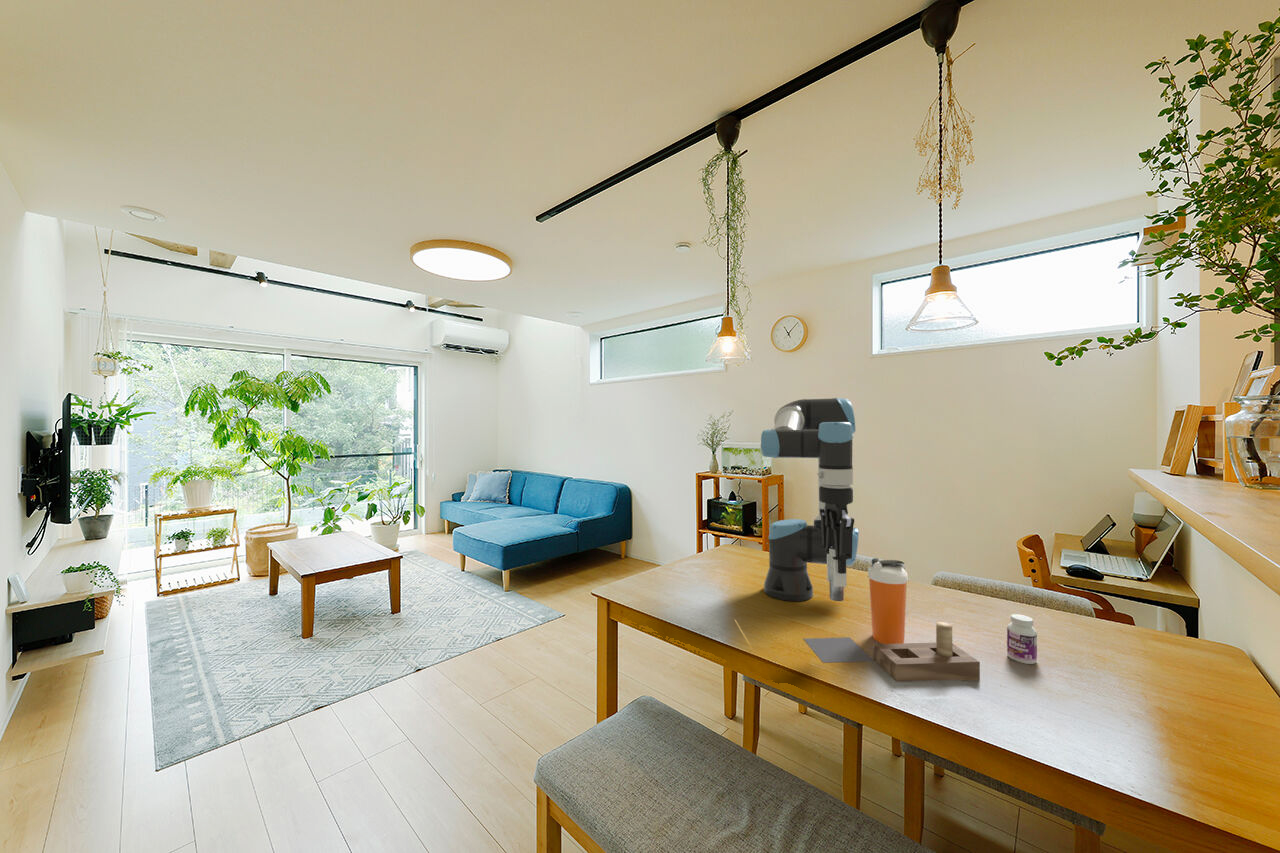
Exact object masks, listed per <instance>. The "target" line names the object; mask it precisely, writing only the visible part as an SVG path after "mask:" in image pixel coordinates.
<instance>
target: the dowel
mask: <svg viewBox="0 0 1280 853" xmlns="http://www.w3.org/2000/svg"><path fill="white" fill-rule="evenodd" d="M935 633H936V636H935V637H936V638H935V640H936V642H935V643H936V653H937V654H938V655H939V656H941V657H953V645H952V644H953V625H952V624H950V623H947V622H943V621H938V622H936V623H935Z"/></svg>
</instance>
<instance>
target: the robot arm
mask: <svg viewBox="0 0 1280 853" xmlns="http://www.w3.org/2000/svg"><path fill="white" fill-rule="evenodd" d="M773 420H774V426H773V429H765V430H763V431H762V432H761V434H760V435H761V436H760V451H761V455H762V457H765V458H773V459H778V458H780V459H782V458H783V459H786V458H790V459H791V458H793V459H794V458H797V459H799V458H800V459H817V460H818V461H817V462H818V463H817V464H818V466H817V467H818V470H817V471H818V472H817V476H818V478H817V479H818V515H817V516H816V517H815V518H814V519H813V525H811V524H810V525H809V524H808V523H807V521H806V520H804V519H799V518H792V519H791V518H790V519H781V520H777V521H774V522H773V523H771V525H770V526H769V529H768V530H769V531H768V532H769V533H768V542H769V544H768V547H769V553H768V555H769V559H768V560H769V561H768V563H769V568H768V570H767V574H766V576H765V580H764V583H763V591H764V593H765V594H766V595H767V596H769V597H771V598H773V599H778V600H781V601H789V602H790V601H791V602H802V601H806V600H807V601H808V600H810V599H812V597H813V596H814V587H813V584H812V581H811V578H810V575H809V572H808V563H810V564H820V565H826V581H827V582H830V581H829V548H831V547H835V554H836V557H833V559H834V586H835V587H844V588H845V587H848V586H847V582H848V581H847V580H848V579H847V575H848V574H847V572H848V571H847V567H848V566H849V567H851V566H853V565H854V564H855V562H856V560H857V554H858V553H857V552H858V548H859V534H860V532H859V531H860V530H859V529H858V528H857V527H854V525H855V518H854V517H849V510H848V509H849V508H848V506H849V505H850V504H853V502H854V488H853V487H851V486H853V485H854V468H853V438H854V434H855V432H856V418H855V413H854V407H853V404H852V402H851V400H850V399H848V398H839V397H834V398H833V397H832V398H810V399H809V398H805V399H797V400H793V401H791V402H789V403H786V404H784V405H782V406H781V407H780V408H779V409H778V410H777V412H776V414H775V416H774V419H773Z"/></svg>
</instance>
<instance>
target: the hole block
mask: <svg viewBox="0 0 1280 853" xmlns="http://www.w3.org/2000/svg"><path fill="white" fill-rule="evenodd" d="M952 645H953V657H941V656H939V655H938V654H937V653H936V642H904V643H902V644H883V643H874V644H873V660H874V661H873V662H875V663H877V665H879V667H881V669H882V670H884V671H885V672H886V673H887V674H888V675H889V676H890V677H891V678H892V679H893V680H894V681H895V682H897V683H899V682H921V681H922V682H926V681H927V682H928V681H929V682H931V681H954V680H955V681H956V680H957V681H958V680H959V681H960V680H962V681H963V682H972V681H973V682H975V681H977V682H979V681H980V680H981V669H980V668H981V666H980V664H981V663H980V661H979V660H978V659H977V658H976V657H974V656H971V655H970V654H969V653H967V652H966V651H964V650H963V649H961V648H960V647H959V646H957V645H955V644H953V643H952Z"/></svg>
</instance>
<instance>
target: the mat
mask: <svg viewBox="0 0 1280 853" xmlns="http://www.w3.org/2000/svg"><path fill="white" fill-rule="evenodd" d="M803 641H804V642H805V643H806V644H807V645H808V646H809V648H810V649H811V650H812V651H813V652H814V654H815V655H816V656H817V657H818V659H819V660H820V661H821V663H823V664H826V663H827V664H829V663H830V664H831V663H861V662H863V663H864V662H875V661H874V658H873V657H871V656H870V654H868V653H867V652H866V651H865V650H864V649H863V648H862V647H861V646H860V645H858V644H857V643H856V642H855V641H854V640H853V639H852V638H851V637H849V636H848V637H846V636H845V637H818V638H817V637H815V638H813V637H812V638H811V637H810V638H803Z"/></svg>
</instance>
